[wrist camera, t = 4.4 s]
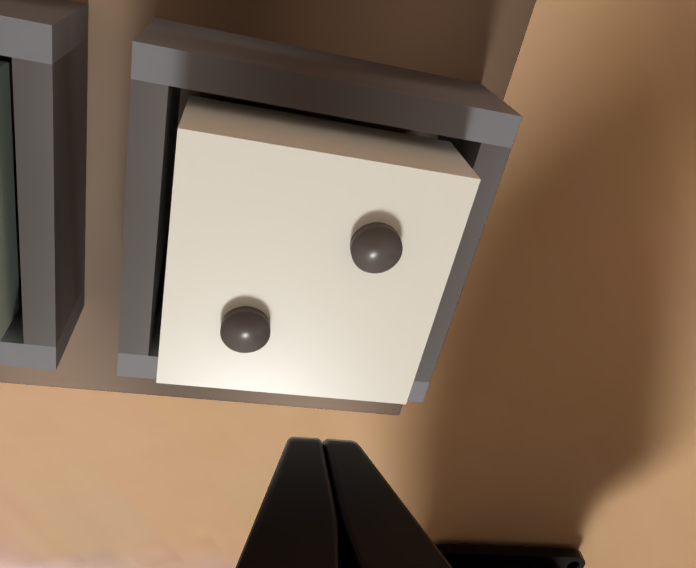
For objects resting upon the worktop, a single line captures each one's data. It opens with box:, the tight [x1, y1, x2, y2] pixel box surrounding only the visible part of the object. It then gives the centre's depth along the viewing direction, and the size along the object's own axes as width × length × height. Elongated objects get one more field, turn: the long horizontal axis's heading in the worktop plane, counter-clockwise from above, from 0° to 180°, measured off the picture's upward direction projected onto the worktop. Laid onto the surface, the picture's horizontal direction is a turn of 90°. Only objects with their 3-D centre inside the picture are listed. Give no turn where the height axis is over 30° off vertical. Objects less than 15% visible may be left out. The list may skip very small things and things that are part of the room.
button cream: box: [156, 95, 481, 404], centre depth 12 cm, size 5×5×2 cm
